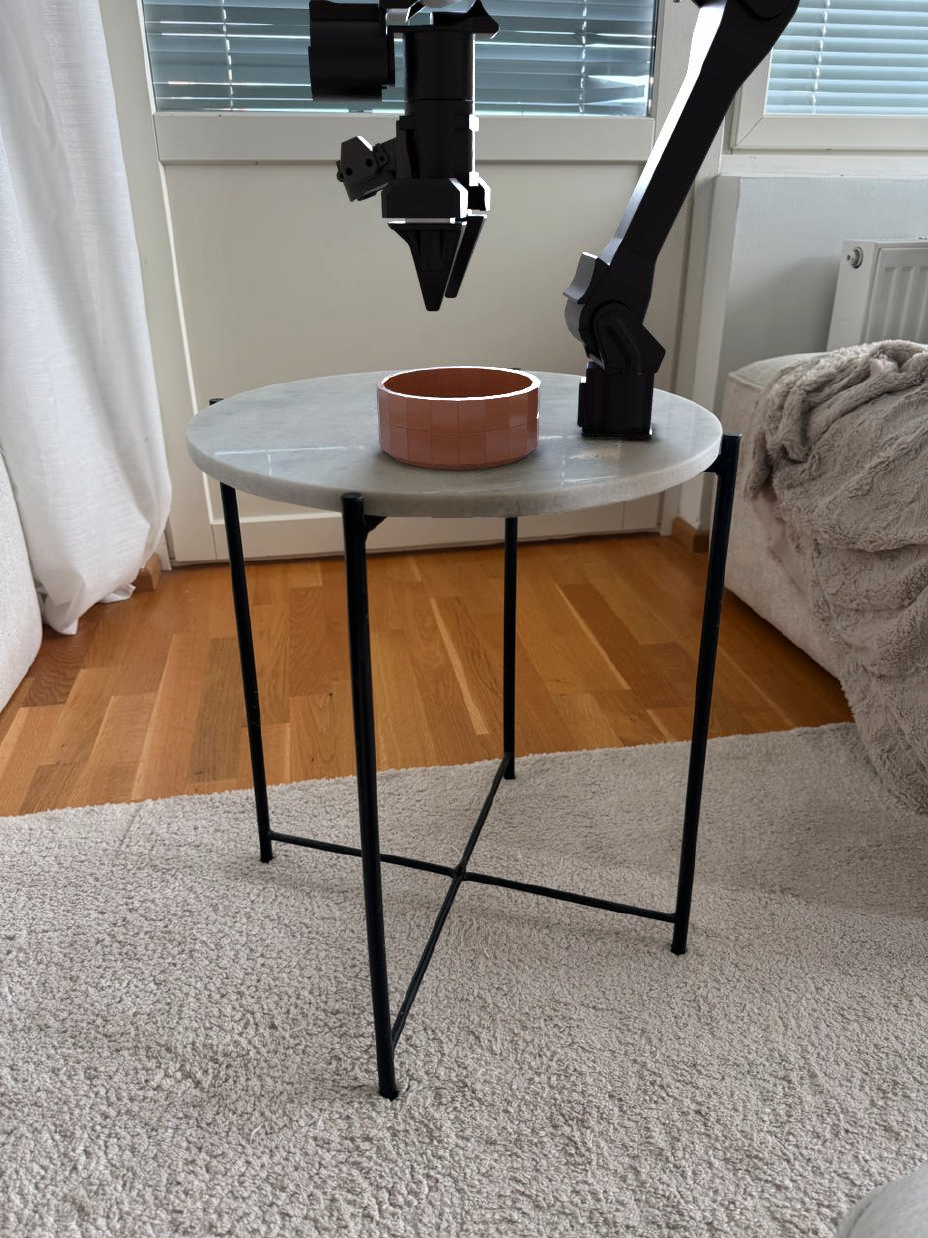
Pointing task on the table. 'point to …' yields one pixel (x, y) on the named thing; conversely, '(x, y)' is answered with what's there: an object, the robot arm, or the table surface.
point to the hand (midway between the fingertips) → (442, 304)
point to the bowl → (458, 416)
